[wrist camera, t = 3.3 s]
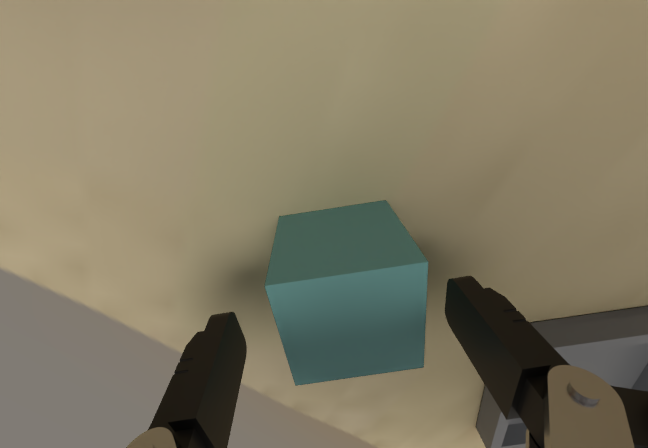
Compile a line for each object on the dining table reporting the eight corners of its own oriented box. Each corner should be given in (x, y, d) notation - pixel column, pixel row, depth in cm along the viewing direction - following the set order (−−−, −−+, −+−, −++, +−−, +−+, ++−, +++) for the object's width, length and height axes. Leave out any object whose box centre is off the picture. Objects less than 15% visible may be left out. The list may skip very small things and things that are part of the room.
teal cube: (385, 199, 13) (428, 261, 8) (388, 283, 15) (423, 367, 10) (279, 215, 13) (264, 286, 8) (299, 296, 15) (295, 385, 11)
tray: (685, 300, 17) (725, 323, 15) (617, 407, 22) (642, 432, 20) (498, 327, 17) (518, 352, 15) (475, 427, 22) (488, 453, 21)
